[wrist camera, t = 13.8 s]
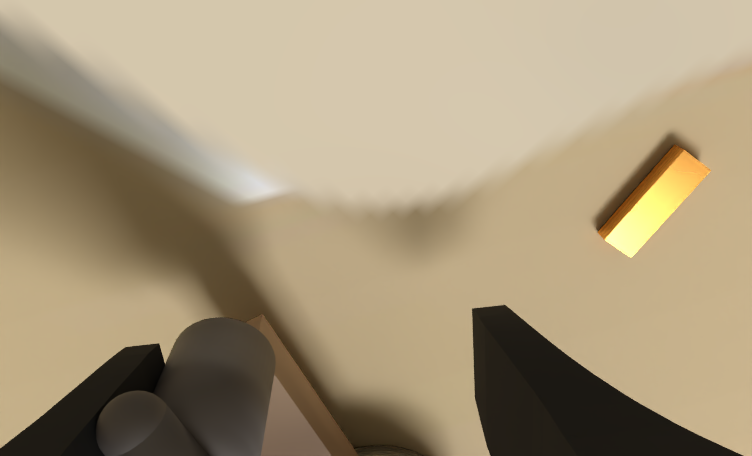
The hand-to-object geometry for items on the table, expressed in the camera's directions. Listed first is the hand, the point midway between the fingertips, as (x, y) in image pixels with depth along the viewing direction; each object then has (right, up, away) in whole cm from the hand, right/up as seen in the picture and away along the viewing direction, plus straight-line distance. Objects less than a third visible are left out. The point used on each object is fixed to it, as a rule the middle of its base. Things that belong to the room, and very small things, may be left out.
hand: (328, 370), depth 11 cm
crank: (-1, -3, +3) cm, 4 cm away
